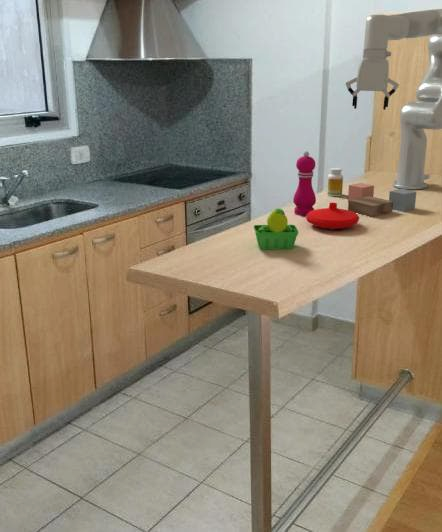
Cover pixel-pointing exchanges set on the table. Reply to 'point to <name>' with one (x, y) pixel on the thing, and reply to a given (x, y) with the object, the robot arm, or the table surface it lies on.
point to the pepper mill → (304, 186)
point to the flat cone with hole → (332, 217)
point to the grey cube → (403, 199)
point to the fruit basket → (276, 232)
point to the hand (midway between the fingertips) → (369, 109)
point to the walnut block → (370, 206)
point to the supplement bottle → (335, 182)
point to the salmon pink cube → (360, 191)
